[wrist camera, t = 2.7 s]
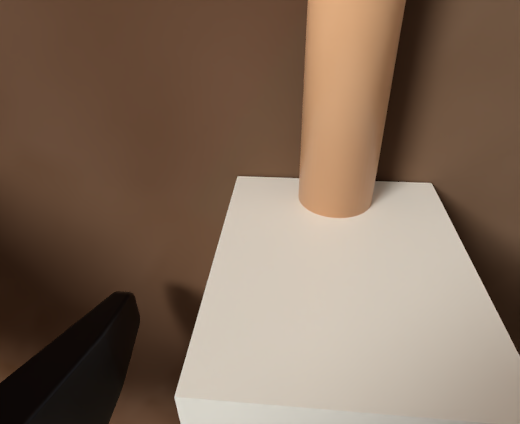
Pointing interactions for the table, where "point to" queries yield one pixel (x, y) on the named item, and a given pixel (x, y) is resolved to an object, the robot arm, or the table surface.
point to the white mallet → (345, 271)
